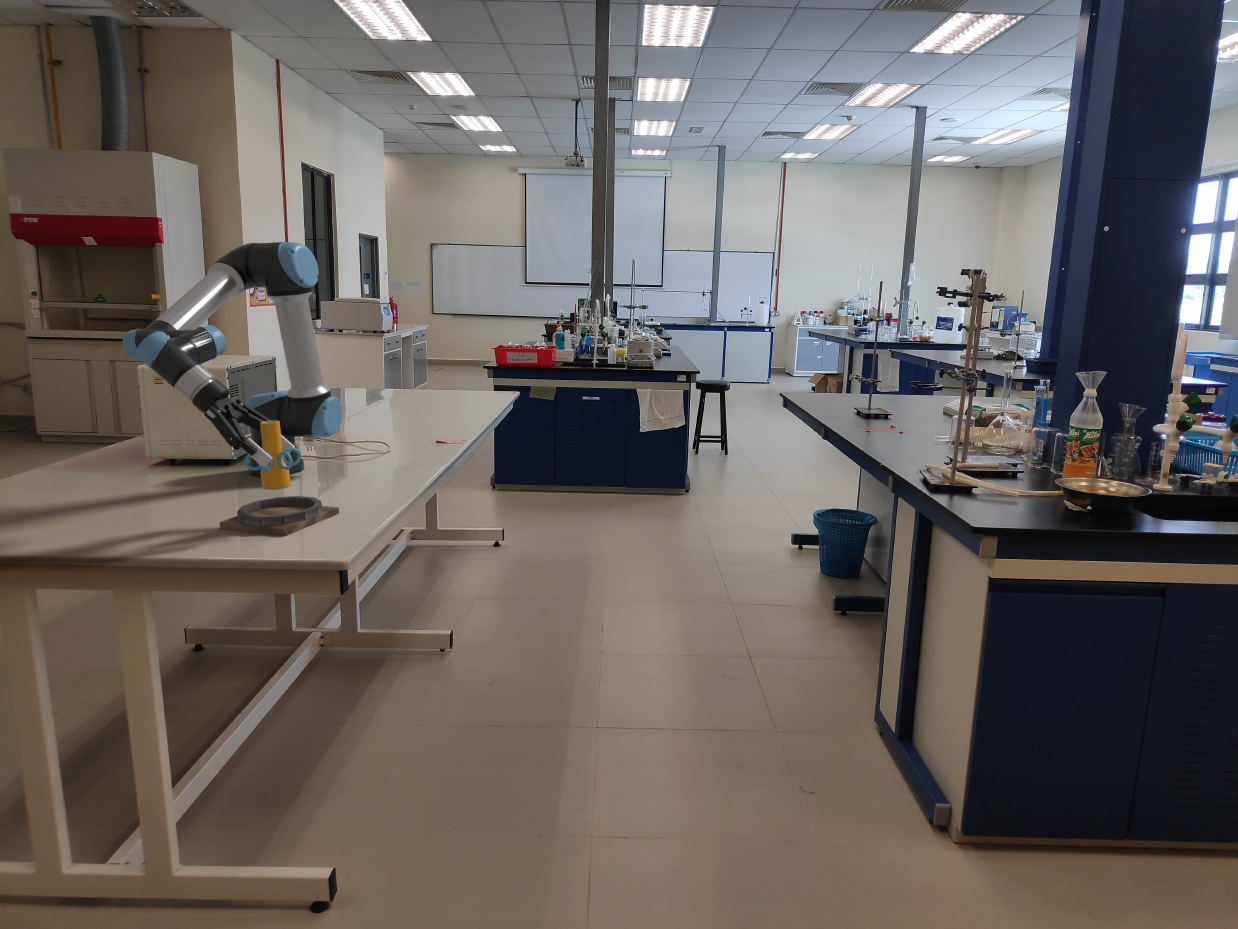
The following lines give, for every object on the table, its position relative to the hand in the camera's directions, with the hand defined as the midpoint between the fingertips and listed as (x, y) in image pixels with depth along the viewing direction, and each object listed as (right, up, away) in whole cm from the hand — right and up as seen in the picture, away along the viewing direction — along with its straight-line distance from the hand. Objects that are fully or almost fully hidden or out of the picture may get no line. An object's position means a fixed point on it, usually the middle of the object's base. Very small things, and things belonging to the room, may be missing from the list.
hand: (280, 457), depth 178 cm
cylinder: (-2, -7, +2) cm, 7 cm away
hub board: (-1, -15, +4) cm, 15 cm away
